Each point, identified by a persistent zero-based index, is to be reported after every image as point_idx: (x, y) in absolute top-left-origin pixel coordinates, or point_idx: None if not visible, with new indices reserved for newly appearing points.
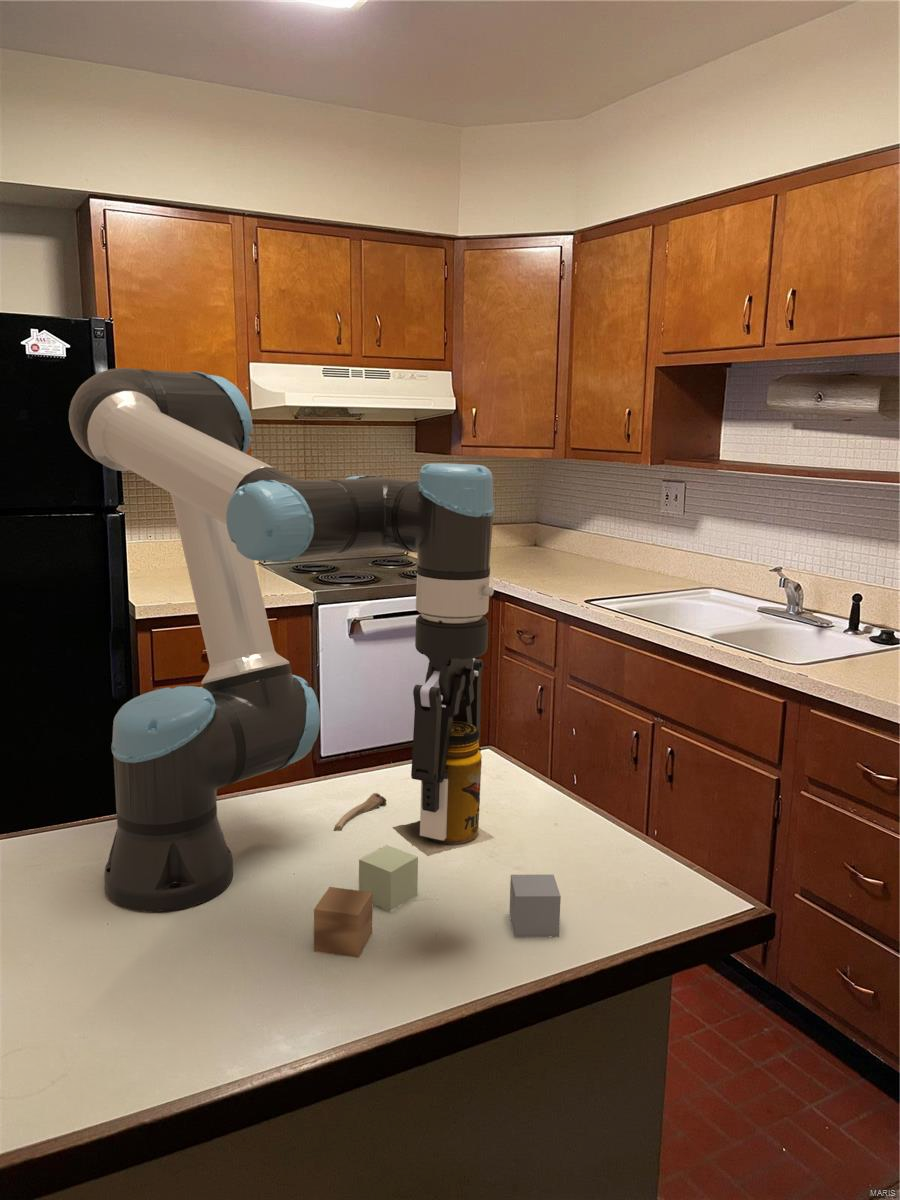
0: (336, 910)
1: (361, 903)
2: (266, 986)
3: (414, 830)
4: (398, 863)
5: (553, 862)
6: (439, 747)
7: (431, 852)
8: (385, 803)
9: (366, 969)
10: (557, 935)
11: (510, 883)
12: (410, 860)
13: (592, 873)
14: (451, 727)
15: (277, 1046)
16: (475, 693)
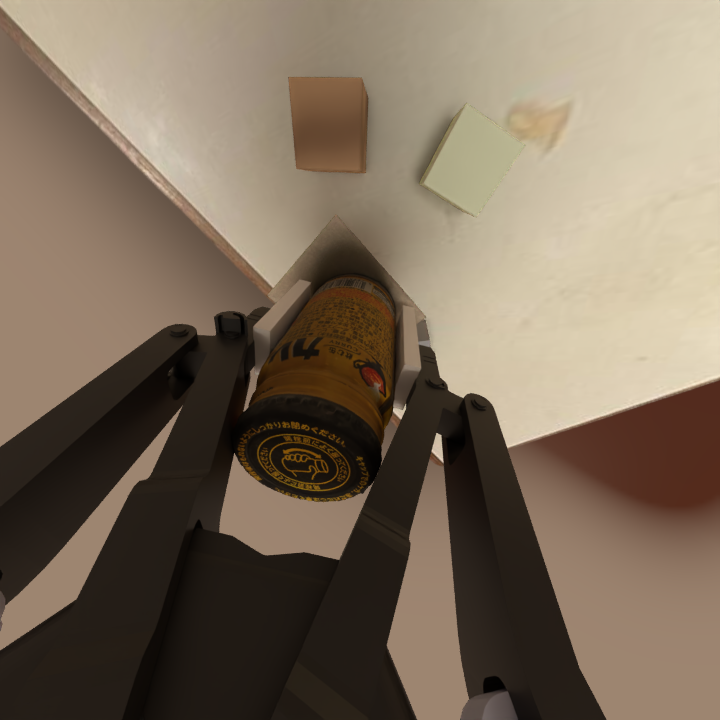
0: (297, 125)
1: (326, 162)
2: (220, 54)
3: (342, 258)
4: (452, 189)
5: (534, 356)
6: (159, 432)
7: (280, 298)
8: None
9: (295, 189)
10: None
11: (427, 335)
12: (463, 207)
13: (505, 386)
14: (227, 482)
15: (149, 128)
16: (457, 597)
